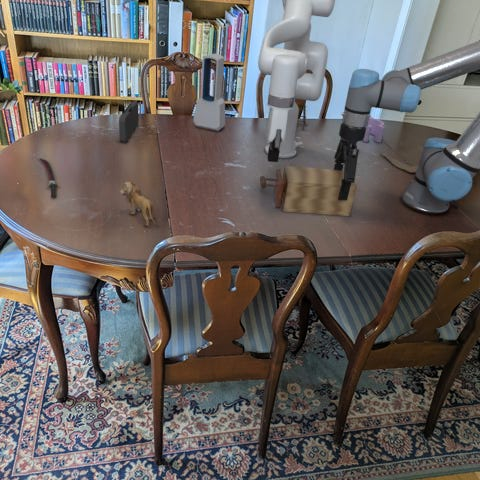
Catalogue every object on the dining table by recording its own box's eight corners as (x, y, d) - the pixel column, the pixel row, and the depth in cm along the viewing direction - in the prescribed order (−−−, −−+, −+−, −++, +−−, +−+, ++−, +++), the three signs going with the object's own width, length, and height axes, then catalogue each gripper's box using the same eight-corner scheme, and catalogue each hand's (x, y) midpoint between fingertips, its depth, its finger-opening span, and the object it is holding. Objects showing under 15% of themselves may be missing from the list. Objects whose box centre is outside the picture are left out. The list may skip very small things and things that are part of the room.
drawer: (258, 205, 146) (262, 181, 142) (257, 191, 155) (260, 167, 150) (337, 211, 148) (343, 187, 143) (331, 196, 156) (336, 173, 152)
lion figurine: (118, 210, 138) (116, 182, 133) (132, 204, 141) (131, 177, 137) (151, 229, 130) (150, 201, 126) (165, 223, 134) (165, 195, 129)
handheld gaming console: (132, 123, 200) (131, 100, 194) (138, 124, 200) (138, 100, 194) (118, 143, 180) (117, 117, 175) (125, 143, 180) (124, 118, 175)
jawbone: (419, 178, 180) (420, 173, 178) (370, 161, 190) (371, 157, 189) (428, 170, 185) (429, 165, 184) (380, 154, 196) (381, 150, 195)
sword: (61, 197, 141) (61, 193, 140) (50, 198, 139) (50, 194, 139) (49, 160, 164) (48, 156, 163) (39, 160, 163) (39, 157, 162)
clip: (343, 126, 223) (346, 112, 219) (367, 127, 225) (371, 113, 221) (360, 142, 206) (364, 127, 202) (386, 142, 209) (390, 127, 205)
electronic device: (225, 127, 206) (230, 56, 190) (219, 132, 200) (224, 59, 184) (199, 122, 209) (202, 51, 193) (192, 127, 203) (195, 54, 187)
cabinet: (283, 211, 147) (288, 181, 141) (280, 194, 156) (284, 165, 151) (349, 216, 148) (356, 186, 143) (342, 199, 158) (349, 170, 152)
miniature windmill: (304, 130, 212) (315, 61, 196) (285, 127, 213) (296, 59, 197) (305, 124, 220) (317, 57, 204) (288, 121, 221) (298, 55, 205)
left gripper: (266, 92, 140) (259, 150, 150) (269, 108, 127) (261, 169, 137) (290, 94, 140) (282, 152, 150) (296, 110, 128) (287, 171, 138)
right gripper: (334, 111, 147) (321, 174, 159) (350, 138, 128) (334, 207, 139) (357, 113, 148) (342, 175, 160) (376, 140, 128) (358, 209, 140)
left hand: (272, 160), depth 144 cm, fingers closed
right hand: (338, 190), depth 150 cm, fingers closed on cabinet, 11 cm apart
